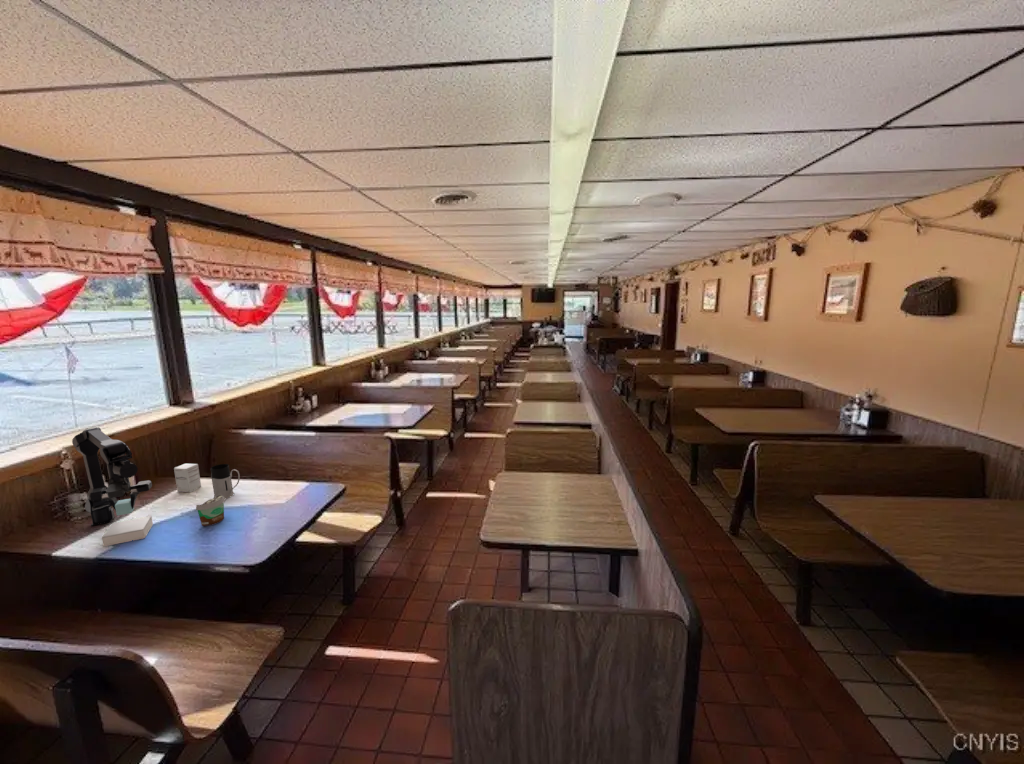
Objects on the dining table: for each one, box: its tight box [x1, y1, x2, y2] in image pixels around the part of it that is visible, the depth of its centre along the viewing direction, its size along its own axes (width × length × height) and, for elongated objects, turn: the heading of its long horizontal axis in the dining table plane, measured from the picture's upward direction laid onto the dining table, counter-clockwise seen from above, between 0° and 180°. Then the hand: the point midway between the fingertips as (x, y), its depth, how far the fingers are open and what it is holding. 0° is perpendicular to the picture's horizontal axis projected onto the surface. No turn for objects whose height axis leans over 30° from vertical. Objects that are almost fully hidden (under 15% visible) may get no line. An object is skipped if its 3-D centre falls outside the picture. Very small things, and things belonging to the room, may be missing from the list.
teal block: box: [114, 498, 135, 516], centre depth 185 cm, size 5×5×5 cm
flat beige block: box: [101, 515, 154, 547], centre depth 187 cm, size 13×13×4 cm
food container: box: [195, 494, 226, 527], centre depth 196 cm, size 12×6×10 cm, turn 168°
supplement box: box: [173, 463, 202, 493], centre depth 231 cm, size 7×7×13 cm
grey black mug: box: [210, 463, 241, 499], centre depth 221 cm, size 9×14×15 cm, turn 82°
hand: (125, 509), depth 185 cm, fingers closed on teal block, 5 cm apart
